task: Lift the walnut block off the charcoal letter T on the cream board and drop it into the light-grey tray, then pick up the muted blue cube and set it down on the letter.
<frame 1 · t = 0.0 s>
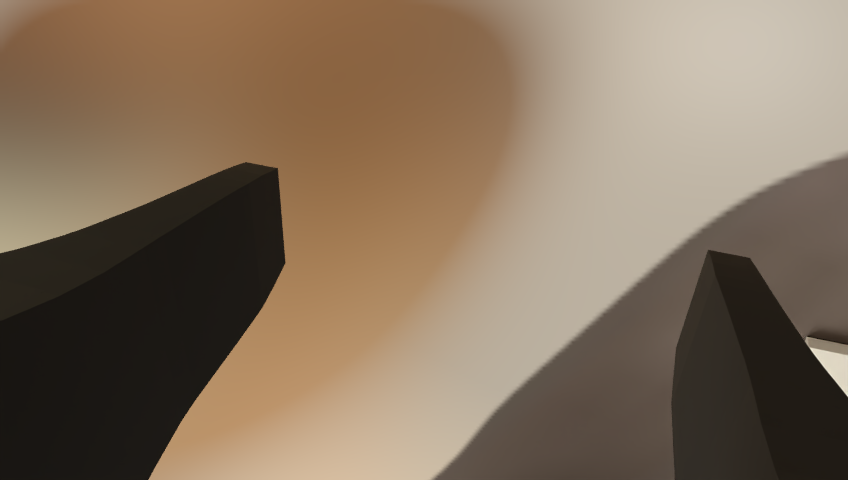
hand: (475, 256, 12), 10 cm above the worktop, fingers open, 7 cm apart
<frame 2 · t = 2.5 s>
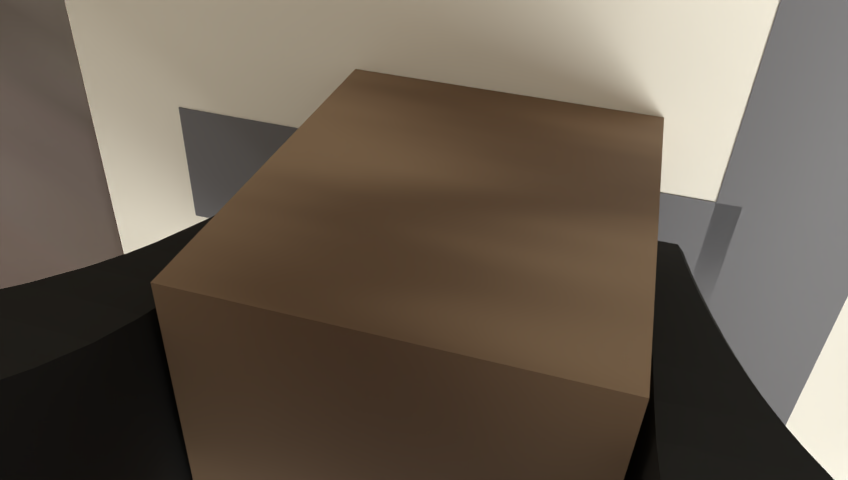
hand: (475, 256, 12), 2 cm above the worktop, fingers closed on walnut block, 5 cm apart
walnut block: (488, 222, 13), point 1 cm above the worktop, touching gripper, letter board
letter board: (494, 207, 14), on the worktop
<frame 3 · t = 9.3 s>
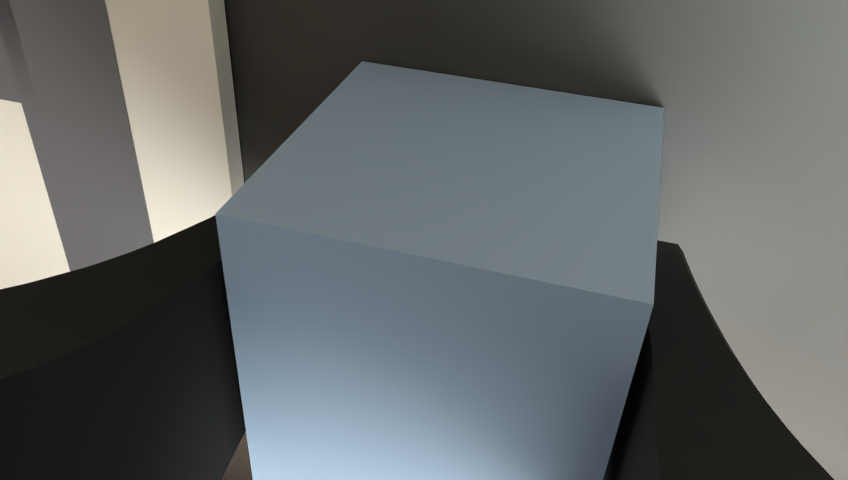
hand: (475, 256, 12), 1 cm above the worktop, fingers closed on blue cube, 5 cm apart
blue cube: (492, 212, 14), on the worktop, touching gripper
when the fingers open (3 cm above the worktop, at t = 12.9 s): blue cube drops 1 cm, resting on letter board.
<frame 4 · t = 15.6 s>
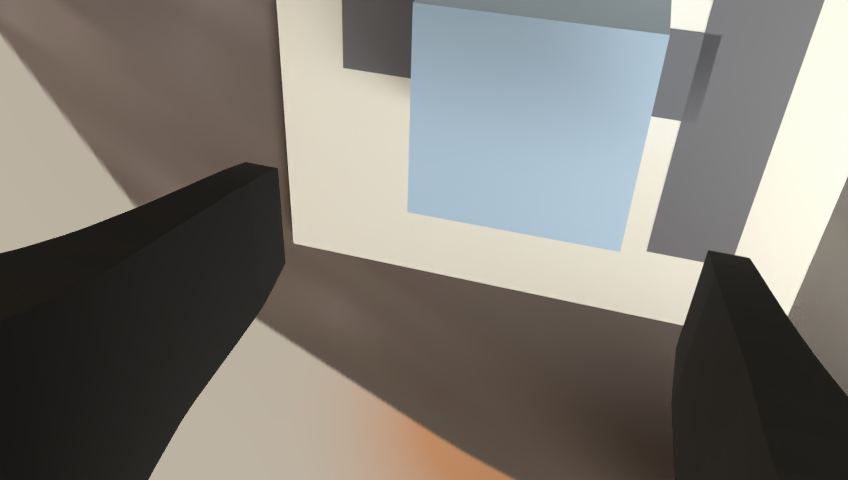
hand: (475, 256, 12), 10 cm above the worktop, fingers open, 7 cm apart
blue cube: (554, 52, 20), point 1 cm above the worktop, touching letter board
letter board: (556, 51, 20), on the worktop
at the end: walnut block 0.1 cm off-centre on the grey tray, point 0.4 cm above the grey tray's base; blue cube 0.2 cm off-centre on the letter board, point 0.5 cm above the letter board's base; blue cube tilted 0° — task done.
